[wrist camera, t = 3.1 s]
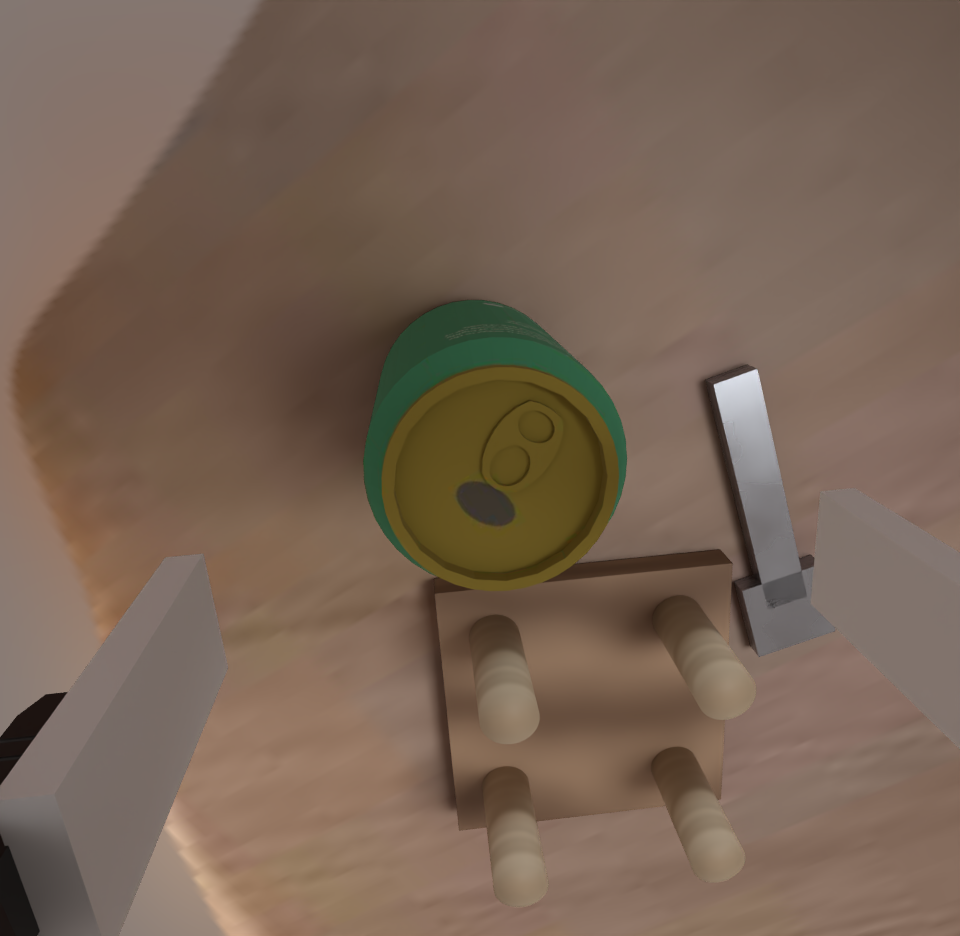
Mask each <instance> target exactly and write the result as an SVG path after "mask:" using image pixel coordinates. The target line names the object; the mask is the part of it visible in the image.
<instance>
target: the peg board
mask: <svg viewBox="0 0 960 936" xmlns="http://www.w3.org/2000/svg"><path fill="white" fill-rule="evenodd" d="M732 564H733V563H732V562H731V561H730V560H729V559H728V558H727V557H726V556H725V554H724V553H723V552H722V551H721V550H710V551H701V552H691V553H681V554H671V555H661V556H651V557H641V558H631V559H621V560H612V561H602V562H592V563H582V564H574V565H573V566H571V567H569V568H568V569H566V570H565V571H563V572H562V573H560V574H559V575H557V576H555V577H553V578H551V579H549V580H546V581H544V582H542V583H539V584H536V585H533V586H530V587H526V588H522V589H515V590H509V591H483V590H475V589H470V588H466V587H462V586H459V585H455V584H453V583H450V582H448V581H446V580H443V579H441V578H434V590H435V602H436V611H437V621H438V631H439V641H440V650H441V660H442V670H443V680H444V689H445V699H446V709H447V718H448V728H449V738H450V748H451V757H452V767H453V777H454V787H455V796H456V806H457V816H458V825H459V831H460V830H468V829H477V828H485V827H487V835H488V843H489V852H490V861H491V870H492V879H493V888H494V893H495V896H496V898H497V899H498V900H499V901H500V902H502V903H503V904H505V905H507V906H511V907H525V906H529V905H532V904H534V903H536V902H538V901H539V900H540V899H541V898H542V897H543V896H544V895H545V894H546V892H547V889H548V878H547V873H546V867H545V862H544V857H543V852H542V847H541V842H540V837H539V832H538V827H537V822H536V821H544V820H552V819H560V818H569V817H577V816H586V815H594V814H602V813H611V812H619V811H627V810H636V809H644V808H652V807H661V806H666V808H667V810H668V812H669V815H670V817H671V820H672V822H673V824H674V827H675V829H676V832H677V834H678V836H679V839H680V841H681V843H682V846H683V848H684V851H685V853H686V855H687V858H688V860H689V862H690V865H691V867H692V870H693V872H694V874H695V875H696V876H697V877H698V878H699V879H701V880H702V881H705V882H710V883H717V882H722V881H726V880H728V879H730V878H732V877H734V876H735V875H736V874H737V873H738V872H739V871H740V870H741V869H742V867H743V865H744V863H745V853H744V850H743V849H742V847H741V845H740V843H739V841H738V839H737V837H736V835H735V833H734V831H733V829H732V827H731V825H730V823H729V821H728V819H727V817H726V815H725V813H724V811H723V810H722V808H721V806H720V804H719V802H718V800H719V799H721V787H722V767H723V746H724V726H725V720H727V719H732V718H735V717H737V716H739V715H741V714H742V713H744V712H745V711H746V710H747V709H748V708H749V707H750V706H751V705H752V703H753V701H754V699H755V696H756V685H755V682H754V680H753V679H752V677H751V676H750V675H749V673H748V672H747V670H746V669H745V668H744V666H743V665H742V663H741V662H740V661H739V659H738V658H737V657H736V655H735V654H734V652H733V651H732V650H731V648H730V647H729V625H730V605H731V584H732Z"/></svg>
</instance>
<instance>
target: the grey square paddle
mask: <svg viewBox="0 0 960 936" xmlns="http://www.w3.org/2000/svg"><path fill="white" fill-rule="evenodd" d="M705 381H706V385H707V390H708V394H709V398H710V402H711V406H712V410H713V414H714V418H715V422H716V426H717V430H718V434H719V438H720V442H721V447H722V451H723V455H724V459H725V463H726V467H727V471H728V475H729V479H730V483H731V487H732V491H733V495H734V499H735V503H736V508H737V512H738V516H739V520H740V524H741V528H742V532H743V536H744V540H745V544H746V548H747V552H748V556H749V560H750V565H751V569H752V573H753V575H751V576H748V577H745V578H742V579H739V580H736V581H734V584H735V588H736V592H737V596H738V600H739V603H740V607H741V611H742V615H743V619H744V623H745V627H746V631H747V635H748V638H749V642H750V646H751V647H752V649H753V650H754V651H755V652H756V654H757V655H758V656H759V657H760V656H763V655H766V654H769V653H772V652H775V651H778V650H781V649H784V648H787V647H790V646H793V645H796V644H799V643H801V642H804V641H807V640H810V639H813V638H816V637H819V636H822V635H825V634H828V633H831V632H834V631H835V627H834V626H833V625H832V624H831V623H830V622H829V621H828V620H827V619H826V618H825V617H824V616H823V615H822V614H821V613H819V612H818V611H817V610H816V609H815V608H814V607H813V606H812V605H811V604H810V603H811V592H812V581H813V570H814V559H815V558H814V557H813V556H812V555H808V556H805V557H802V558H799V557H798V552H797V548H796V543H795V539H794V534H793V529H792V525H791V520H790V516H789V511H788V507H787V502H786V497H785V493H784V488H783V484H782V479H781V475H780V470H779V465H778V461H777V456H776V452H775V447H774V443H773V438H772V433H771V429H770V424H769V420H768V415H767V411H766V406H765V401H764V397H763V392H762V388H761V383H760V379H759V374H758V370H757V369H756V368H754V367H752V366H750V365H748V364H747V365H745V366H742V367H739V368H736V369H734V370H731V371H728V372H725V373H722V374H720V375H717V376H714V377H711V378H708V379H706V380H705Z"/></svg>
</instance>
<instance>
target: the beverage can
mask: <svg viewBox="0 0 960 936" xmlns="http://www.w3.org/2000/svg"><path fill="white" fill-rule="evenodd" d="M363 465H364V483H365V488H366V493H367V498H368V501H369V504H370V507H371V509H372V512H373V514H374V517H375V519H376V521H377V522H378V524H379V526H380V527H381V529H382V531H383V533H384V534H385V536H386V537H387V538H388V539H389V540H390V542H391V543H392V544H393V545H394V546H395V548H396V549H397V550H398V551H399V552H400V553H402V554H403V555H404V556H405V557H406V558H407V559H409V560H410V561H411V562H412V563H414V564H415V565H417V566H418V567H420V568H422V569H423V570H425V571H426V572H428V573H430V574H432V575H435V576H437V577H439V578H441V579H443V580H446V581H448V582H450V583H453V584H455V585H459V586H462V587H466V588H470V589H475V590H483V591H509V590H515V589H522V588H526V587H530V586H533V585H536V584H539V583H542V582H544V581H546V580H549V579H551V578H553V577H555V576H557V575H559V574H560V573H562V572H563V571H565V570H566V569H568V568H569V567H571V566H573V565H574V564H575V563H576V562H577V561H578V560H579V559H580V558H582V557H583V556H584V555H585V554H586V553H587V552H588V551H589V550H590V548H591V547H592V546H593V545H594V544H595V542H596V541H597V540H598V538H599V537H600V535H601V534H602V532H603V530H604V529H605V527H606V525H607V524H608V522H609V520H610V519H611V517H612V516H613V514H614V511H615V509H616V507H617V504H618V502H619V499H620V497H621V493H622V489H623V485H624V481H625V476H626V465H627V452H626V439H625V435H624V431H623V427H622V423H621V420H620V417H619V415H618V413H617V410H616V408H615V406H614V403H613V402H612V400H611V398H610V397H609V395H608V394H607V392H606V391H605V389H604V388H603V386H602V385H601V384H600V383H599V382H598V381H597V380H596V378H595V377H594V376H593V375H592V374H591V373H590V372H589V371H588V370H587V369H586V368H585V367H584V366H583V365H582V364H580V363H579V362H578V361H577V360H576V359H575V358H574V357H573V356H572V355H571V354H570V353H568V352H567V351H566V350H565V349H564V348H563V347H562V346H561V345H560V344H559V343H558V342H556V341H555V340H554V339H553V338H552V337H551V336H550V335H549V334H548V333H547V332H545V331H544V330H543V329H542V328H541V327H540V326H539V325H538V324H537V323H535V322H534V321H533V320H531V319H530V318H529V317H528V316H526V315H525V314H523V313H521V312H519V311H517V310H515V309H514V308H512V307H509V306H506V305H503V304H500V303H496V302H490V301H484V300H465V301H458V302H452V303H449V304H446V305H443V306H440V307H437V308H435V309H433V310H431V311H429V312H427V313H425V314H423V315H422V316H421V317H419V318H418V319H417V320H415V321H414V322H413V323H411V324H410V325H409V326H408V327H407V328H406V329H405V330H404V331H403V332H402V333H401V335H400V336H399V337H398V339H397V340H396V342H395V343H394V344H393V346H392V348H391V350H390V352H389V354H388V356H387V358H386V360H385V363H384V367H383V370H382V373H381V377H380V382H379V386H378V390H377V395H376V399H375V404H374V408H373V413H372V417H371V421H370V426H369V430H368V435H367V439H366V445H365V453H364V460H363Z"/></svg>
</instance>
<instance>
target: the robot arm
mask: <svg viewBox="0 0 960 936" xmlns="http://www.w3.org/2000/svg"><path fill="white" fill-rule="evenodd" d="M810 604H811V605H812V606H813V607H814V608H815V609H816V610H817V611H818V612H819V613H821V614H822V615H823V616H824V617H825V618H826V619H827V620H828V621H829V622H830V623H831V624H832V625H833V626H834V627H835V628H836V629H837V630H838V631H839V632H840V633H841V634H842V635H843V636H844V637H845V638H846V639H847V640H848V641H849V642H850V643H851V644H852V645H853V646H854V647H855V648H856V649H858V650H859V651H860V652H861V653H862V654H863V655H864V656H865V657H866V658H867V659H868V660H869V661H870V662H871V663H872V664H873V665H874V666H875V667H876V668H877V669H878V670H879V671H880V672H881V673H882V674H883V675H884V676H885V677H886V678H887V679H888V680H889V681H890V682H891V683H892V684H893V685H895V686H896V687H897V688H898V689H899V690H900V691H901V692H902V693H903V694H904V695H905V696H906V697H907V698H908V699H909V700H910V701H911V702H912V703H913V704H914V705H915V706H916V707H917V708H918V709H919V710H920V711H921V712H922V713H923V714H924V715H925V716H926V717H927V718H928V719H929V720H931V721H932V722H933V723H934V724H935V725H936V726H937V727H938V728H939V729H940V730H941V731H942V732H943V733H944V734H945V735H946V736H947V737H948V738H949V739H950V740H951V741H952V742H953V743H954V744H955V745H956V746H957V747H958V748H959V749H960V552H958V551H956V550H955V549H953V548H951V547H950V546H948V545H947V544H945V543H943V542H942V541H940V540H938V539H937V538H935V537H934V536H932V535H930V534H929V533H927V532H925V531H924V530H922V529H921V528H919V527H917V526H916V525H914V524H912V523H911V522H909V521H908V520H906V519H904V518H903V517H901V516H899V515H898V514H896V513H894V512H893V511H891V510H890V509H888V508H886V507H885V506H883V505H881V504H880V503H878V502H877V501H875V500H873V499H872V498H870V497H868V496H867V495H865V494H864V493H862V492H860V491H859V490H857V489H855V488H850V489H840V490H830V491H820V503H819V514H818V525H817V536H816V547H815V559H814V570H813V581H812V592H811V603H810ZM227 669H228V665H227V660H226V656H225V651H224V646H223V642H222V637H221V633H220V628H219V623H218V619H217V614H216V609H215V605H214V600H213V596H212V591H211V586H210V582H209V577H208V573H207V568H206V563H205V559H204V554H195V555H185V556H175V557H165V559H164V560H163V561H162V563H161V564H160V566H159V567H158V568H157V570H156V571H155V573H154V574H153V575H152V577H151V578H150V579H149V581H148V582H147V584H146V585H145V586H144V588H143V589H142V590H141V592H140V593H139V595H138V596H137V597H136V599H135V600H134V602H133V603H132V604H131V606H130V607H129V608H128V610H127V611H126V613H125V614H124V615H123V617H122V618H121V619H120V621H119V622H118V624H117V625H116V626H115V628H114V629H113V631H112V632H111V633H110V635H109V636H108V637H107V639H106V640H105V642H104V643H103V644H102V646H101V647H100V648H99V650H98V651H97V653H96V654H95V656H94V657H93V658H92V660H91V661H90V663H89V664H88V665H87V666H86V668H85V669H84V671H83V672H82V673H81V675H80V676H79V678H78V679H77V681H76V682H75V683H74V685H73V686H72V687H71V689H70V690H69V691H68V692H64V693H55V694H46V695H45V696H43V697H42V698H40V699H39V700H38V701H37V702H35V703H34V704H32V705H31V706H30V707H28V708H27V709H26V710H25V711H23V712H22V713H21V714H19V715H18V716H17V717H16V718H15V719H14V720H13V722H12V723H11V724H10V726H9V727H8V728H7V729H6V731H5V732H4V733H3V735H2V736H1V737H0V936H119V934H120V932H121V929H122V927H123V924H124V922H125V919H126V917H127V914H128V912H129V909H130V907H131V905H132V902H133V900H134V897H135V895H136V892H137V890H138V887H139V885H140V883H141V880H142V878H143V875H144V873H145V870H146V868H147V865H148V863H149V860H150V858H151V856H152V853H153V851H154V848H155V846H156V843H157V841H158V838H159V836H160V834H161V831H162V829H163V826H164V824H165V821H166V819H167V816H168V814H169V812H170V809H171V807H172V804H173V802H174V799H175V797H176V794H177V792H178V789H179V787H180V785H181V782H182V780H183V777H184V775H185V772H186V770H187V767H188V765H189V763H190V760H191V758H192V755H193V753H194V750H195V748H196V745H197V743H198V740H199V738H200V736H201V733H202V731H203V728H204V726H205V723H206V721H207V718H208V716H209V714H210V711H211V709H212V706H213V704H214V701H215V699H216V696H217V694H218V691H219V689H220V687H221V684H222V682H223V679H224V677H225V674H226V672H227Z"/></svg>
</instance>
